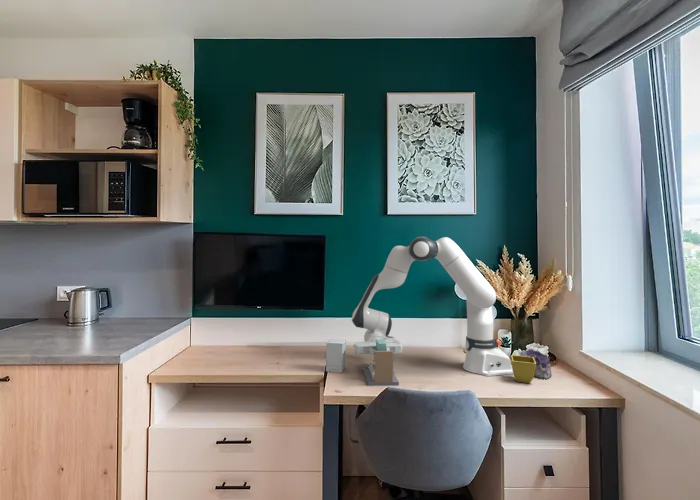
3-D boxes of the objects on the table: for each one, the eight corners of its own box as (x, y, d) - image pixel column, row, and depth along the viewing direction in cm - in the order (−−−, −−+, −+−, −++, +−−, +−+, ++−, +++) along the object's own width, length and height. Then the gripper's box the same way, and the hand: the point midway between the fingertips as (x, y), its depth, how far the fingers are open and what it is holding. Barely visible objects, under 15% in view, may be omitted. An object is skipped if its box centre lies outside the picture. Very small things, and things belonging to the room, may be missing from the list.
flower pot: (535, 385, 153) (536, 363, 153) (512, 383, 156) (512, 360, 156) (533, 378, 162) (533, 357, 162) (510, 376, 165) (510, 354, 164)
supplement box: (342, 373, 166) (342, 343, 166) (325, 371, 168) (325, 342, 167) (345, 367, 173) (346, 339, 173) (329, 366, 175) (330, 338, 175)
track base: (390, 370, 170) (391, 340, 170) (398, 385, 152) (399, 351, 152) (363, 370, 169) (363, 340, 169) (368, 385, 151) (368, 352, 151)
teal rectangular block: (382, 372, 164) (383, 339, 164) (386, 378, 156) (386, 343, 156) (375, 372, 164) (375, 339, 164) (378, 378, 156) (378, 343, 156)
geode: (563, 380, 160) (560, 357, 159) (534, 383, 161) (531, 360, 160) (542, 363, 180) (540, 342, 180) (516, 366, 181) (514, 345, 181)
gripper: (353, 337, 173) (355, 345, 159) (398, 336, 174) (405, 344, 160) (353, 351, 173) (355, 360, 159) (398, 350, 174) (404, 360, 161)
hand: (380, 352), depth 160 cm, fingers open, 3 cm apart
